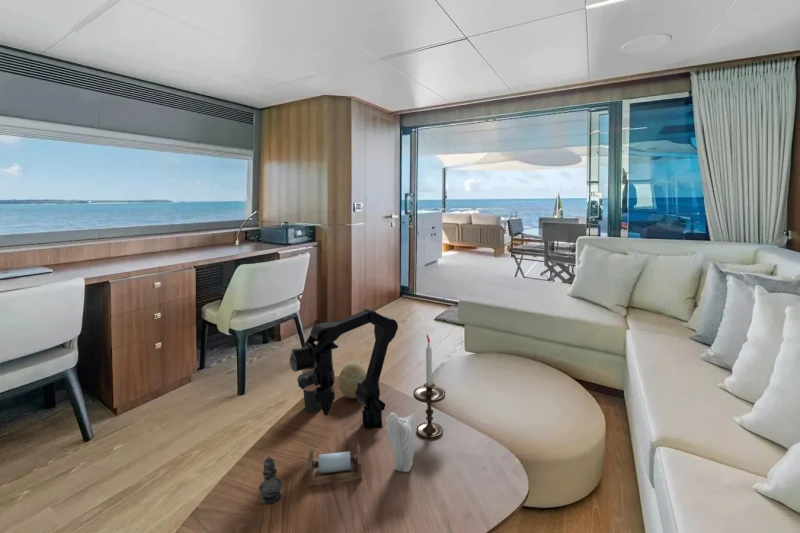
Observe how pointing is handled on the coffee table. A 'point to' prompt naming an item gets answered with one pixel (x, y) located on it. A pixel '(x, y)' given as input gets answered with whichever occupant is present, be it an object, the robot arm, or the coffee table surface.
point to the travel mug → (310, 396)
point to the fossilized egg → (351, 378)
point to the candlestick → (429, 400)
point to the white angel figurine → (402, 439)
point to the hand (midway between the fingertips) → (326, 408)
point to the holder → (334, 477)
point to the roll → (334, 462)
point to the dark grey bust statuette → (270, 483)
